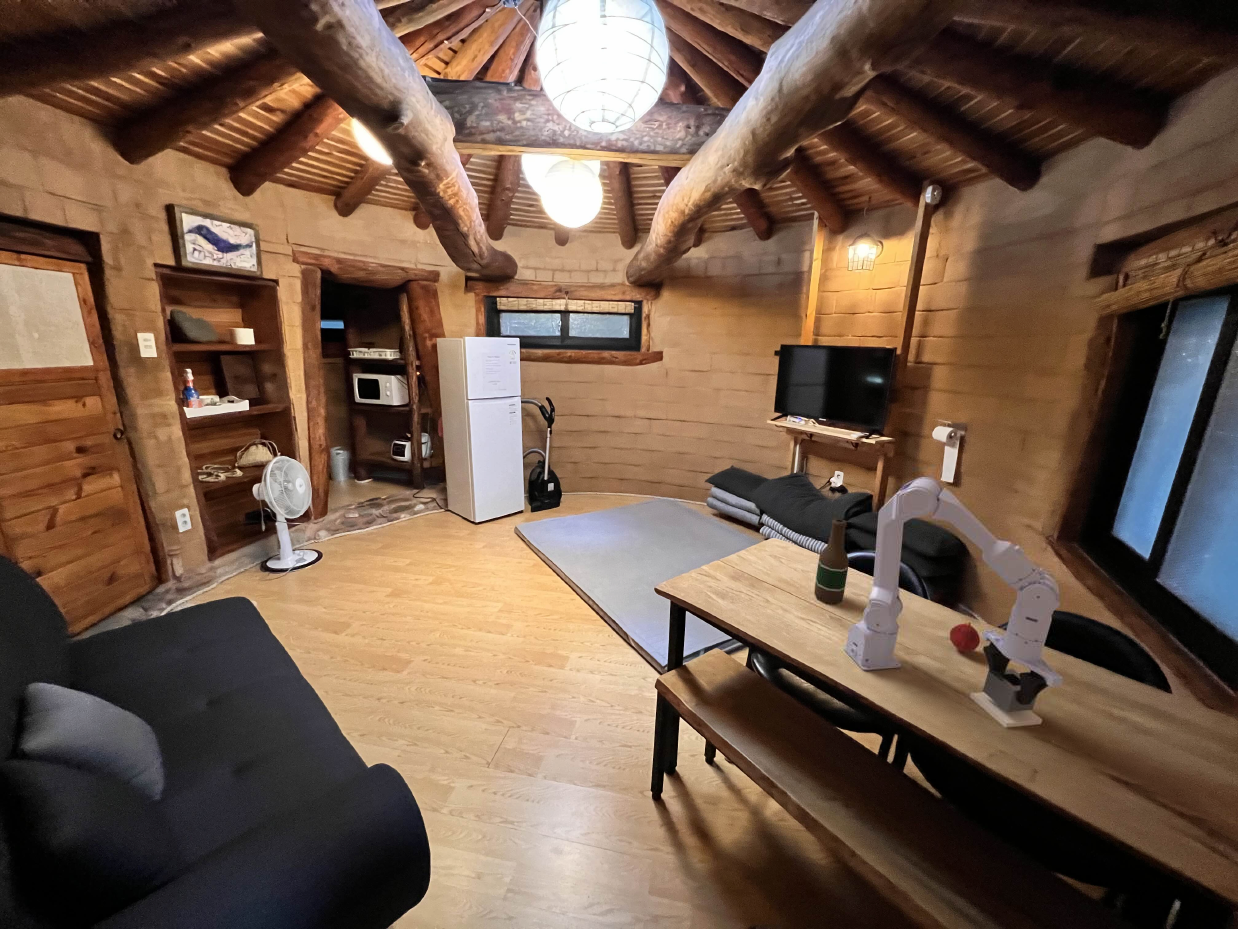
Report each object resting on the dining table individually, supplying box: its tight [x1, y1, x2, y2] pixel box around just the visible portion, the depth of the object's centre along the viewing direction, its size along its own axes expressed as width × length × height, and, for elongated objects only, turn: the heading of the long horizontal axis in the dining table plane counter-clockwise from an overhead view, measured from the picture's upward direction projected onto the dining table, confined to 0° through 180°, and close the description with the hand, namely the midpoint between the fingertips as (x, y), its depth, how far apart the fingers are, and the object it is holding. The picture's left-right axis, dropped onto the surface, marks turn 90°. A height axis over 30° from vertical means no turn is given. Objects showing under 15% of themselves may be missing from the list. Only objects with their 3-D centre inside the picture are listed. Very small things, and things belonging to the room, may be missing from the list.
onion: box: [949, 620, 981, 653], centre depth 113 cm, size 6×6×8 cm
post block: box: [970, 691, 1043, 729], centre depth 95 cm, size 8×8×5 cm
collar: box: [982, 668, 1038, 712], centre depth 94 cm, size 6×6×5 cm
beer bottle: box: [813, 518, 850, 606], centre depth 133 cm, size 8×8×24 cm
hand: (1009, 692), depth 94 cm, fingers closed on collar, 5 cm apart
